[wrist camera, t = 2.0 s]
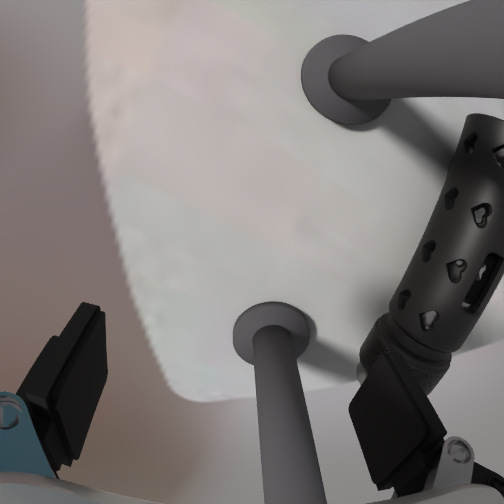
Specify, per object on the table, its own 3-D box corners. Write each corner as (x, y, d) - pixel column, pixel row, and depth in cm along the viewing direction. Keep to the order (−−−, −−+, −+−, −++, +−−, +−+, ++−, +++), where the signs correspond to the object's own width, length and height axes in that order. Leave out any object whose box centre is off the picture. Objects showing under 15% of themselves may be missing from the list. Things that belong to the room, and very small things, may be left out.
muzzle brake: (498, 149, 26) (565, 170, 17) (399, 355, 37) (432, 413, 27) (441, 108, 25) (514, 115, 15) (337, 345, 35) (364, 413, 26)
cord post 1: (318, 308, 33) (396, 536, 10) (294, 364, 36) (335, 566, 14) (242, 295, 32) (253, 556, 9) (226, 354, 35) (224, 573, 12)
